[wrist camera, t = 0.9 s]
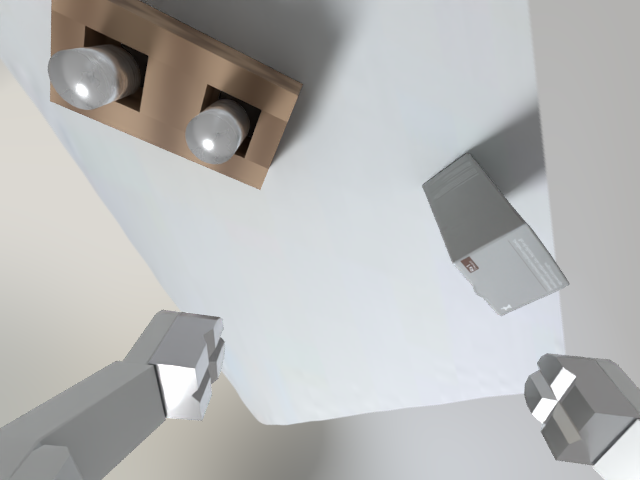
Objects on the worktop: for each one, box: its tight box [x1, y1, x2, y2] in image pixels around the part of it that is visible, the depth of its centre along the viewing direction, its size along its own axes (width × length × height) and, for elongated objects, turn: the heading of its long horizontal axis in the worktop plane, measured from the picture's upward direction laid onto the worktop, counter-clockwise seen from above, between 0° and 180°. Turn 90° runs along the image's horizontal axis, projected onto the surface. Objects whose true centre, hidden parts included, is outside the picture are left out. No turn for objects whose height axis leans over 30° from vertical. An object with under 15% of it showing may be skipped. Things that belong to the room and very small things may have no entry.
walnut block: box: [50, 0, 303, 190], centre depth 32 cm, size 20×10×6 cm, turn 65°
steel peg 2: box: [185, 99, 250, 164], centre depth 29 cm, size 4×4×6 cm
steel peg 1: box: [48, 44, 141, 110], centre depth 27 cm, size 4×4×6 cm
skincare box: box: [422, 153, 569, 316], centre depth 34 cm, size 8×7×16 cm
